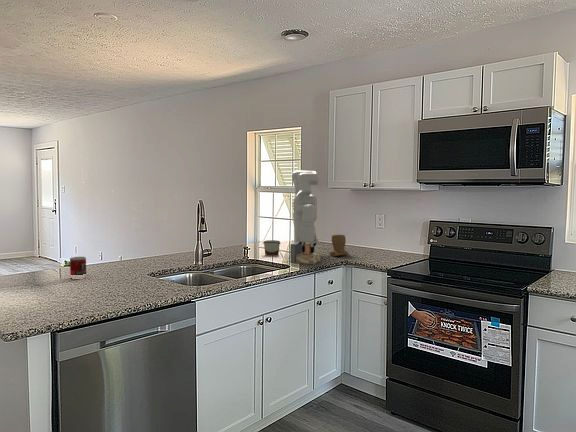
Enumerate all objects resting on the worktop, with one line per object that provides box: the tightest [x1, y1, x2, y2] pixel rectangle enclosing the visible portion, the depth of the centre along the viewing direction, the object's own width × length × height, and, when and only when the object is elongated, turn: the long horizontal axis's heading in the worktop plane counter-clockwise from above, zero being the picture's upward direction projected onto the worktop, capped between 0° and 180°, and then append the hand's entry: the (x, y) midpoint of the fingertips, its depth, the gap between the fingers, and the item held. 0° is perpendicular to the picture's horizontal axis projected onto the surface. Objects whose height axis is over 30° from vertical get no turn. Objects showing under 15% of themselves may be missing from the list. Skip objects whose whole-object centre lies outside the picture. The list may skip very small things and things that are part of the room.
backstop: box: [289, 242, 302, 264], centre depth 291 cm, size 14×3×12 cm, turn 155°
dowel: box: [305, 242, 312, 255], centre depth 288 cm, size 4×4×12 cm
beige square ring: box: [295, 252, 321, 265], centre depth 288 cm, size 12×12×5 cm
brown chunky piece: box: [329, 234, 350, 257], centre depth 316 cm, size 15×12×15 cm
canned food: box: [69, 256, 87, 275], centre depth 237 cm, size 8×8×11 cm
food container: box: [262, 239, 281, 256], centre depth 318 cm, size 12×6×10 cm, turn 84°
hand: (308, 252), depth 288 cm, fingers open, 5 cm apart
